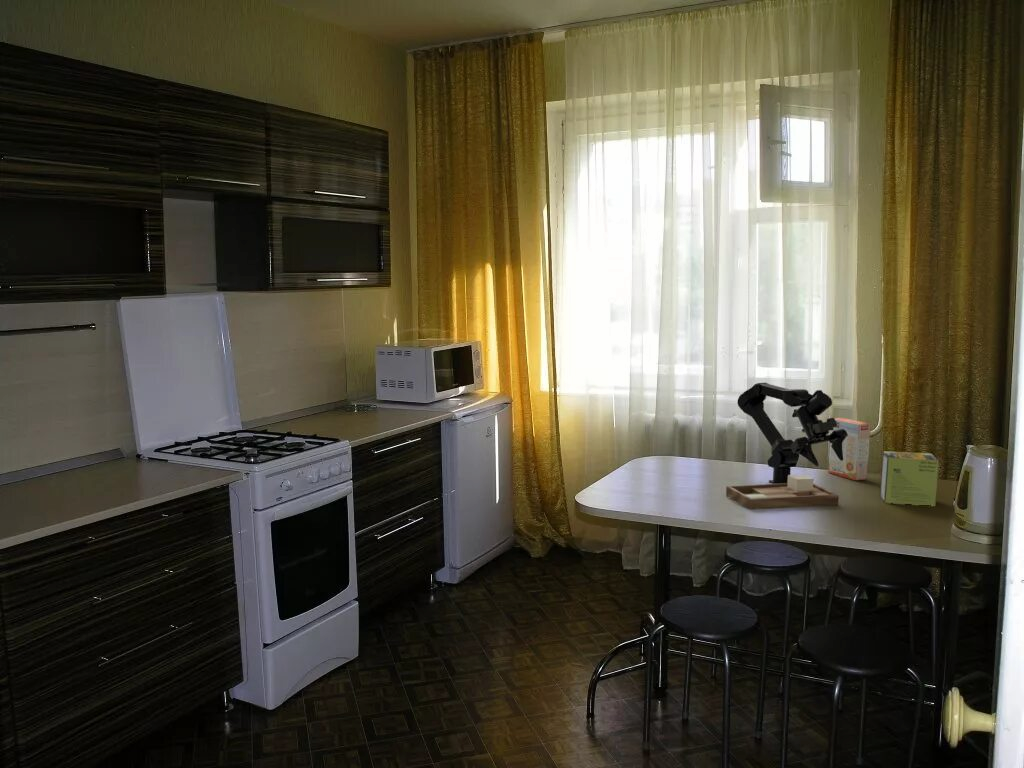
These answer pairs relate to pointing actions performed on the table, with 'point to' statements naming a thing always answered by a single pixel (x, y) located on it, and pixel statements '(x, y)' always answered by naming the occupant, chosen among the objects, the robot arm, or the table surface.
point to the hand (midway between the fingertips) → (830, 463)
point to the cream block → (800, 482)
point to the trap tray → (780, 496)
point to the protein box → (909, 478)
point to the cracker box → (851, 450)
